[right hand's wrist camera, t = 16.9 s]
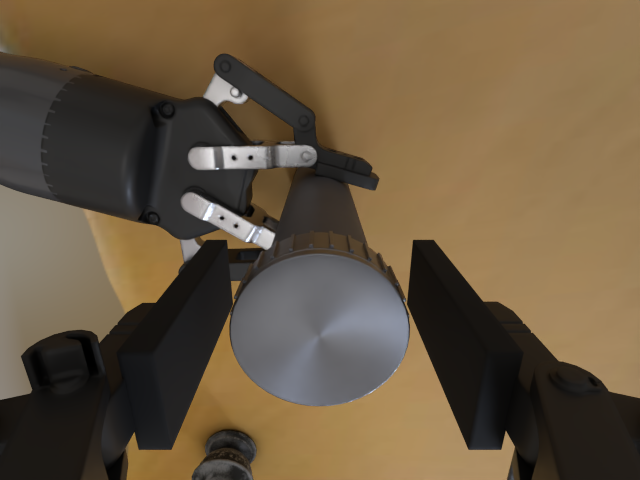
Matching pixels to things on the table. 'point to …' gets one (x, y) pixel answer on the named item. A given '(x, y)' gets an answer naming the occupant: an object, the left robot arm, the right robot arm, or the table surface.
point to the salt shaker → (227, 457)
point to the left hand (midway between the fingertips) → (362, 217)
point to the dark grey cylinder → (318, 208)
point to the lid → (319, 320)
